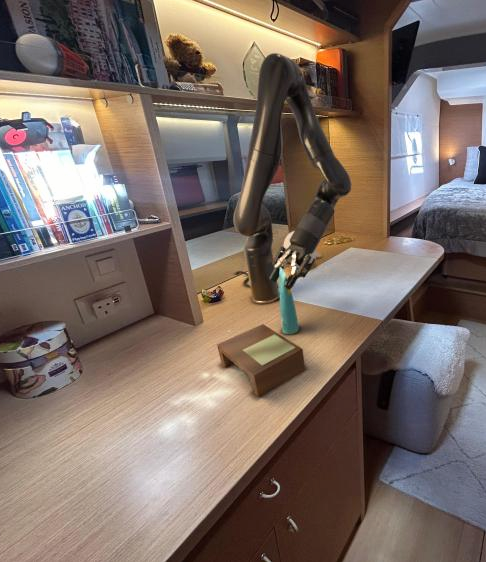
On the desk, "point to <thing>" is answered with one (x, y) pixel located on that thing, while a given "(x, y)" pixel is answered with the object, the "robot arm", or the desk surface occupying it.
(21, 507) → the desk surface
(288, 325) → the tube
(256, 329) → the brown wooden table
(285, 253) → the robot arm
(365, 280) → the desk surface
